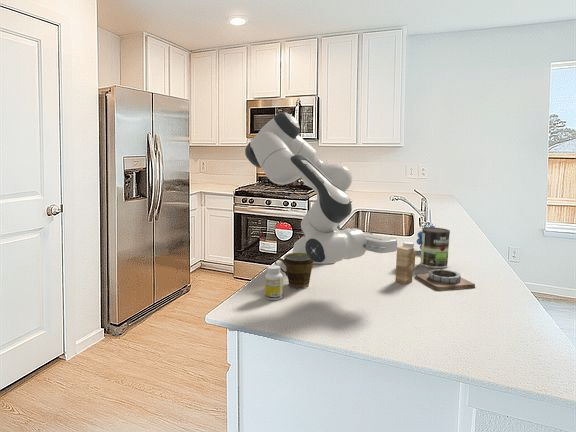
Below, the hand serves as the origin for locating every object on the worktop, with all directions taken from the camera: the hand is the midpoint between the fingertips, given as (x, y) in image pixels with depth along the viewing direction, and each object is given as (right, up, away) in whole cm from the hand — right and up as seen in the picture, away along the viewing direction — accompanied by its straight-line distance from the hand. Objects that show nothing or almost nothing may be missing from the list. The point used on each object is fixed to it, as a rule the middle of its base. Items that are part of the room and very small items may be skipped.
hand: (382, 237), depth 141 cm
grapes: (+32, -9, +53) cm, 63 cm away
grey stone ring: (+23, -15, +9) cm, 29 cm away
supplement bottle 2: (+16, -13, +28) cm, 35 cm away
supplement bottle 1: (-35, -18, -6) cm, 40 cm away
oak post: (+10, -16, +10) cm, 21 cm away
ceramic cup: (-28, -16, +6) cm, 33 cm away
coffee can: (+27, -12, +32) cm, 44 cm away
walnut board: (+23, -16, +10) cm, 30 cm away
